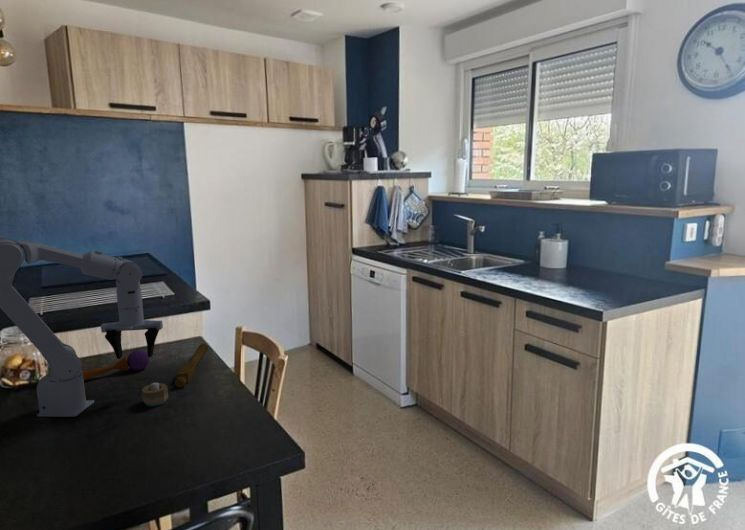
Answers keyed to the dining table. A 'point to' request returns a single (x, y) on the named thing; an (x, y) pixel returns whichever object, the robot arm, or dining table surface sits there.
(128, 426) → the dining table surface
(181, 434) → the dining table surface
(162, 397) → the ring
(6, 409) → the dining table surface
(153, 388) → the toy mushroom
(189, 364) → the wooden baluster
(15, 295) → the robot arm
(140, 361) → the kendama
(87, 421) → the dining table surface
